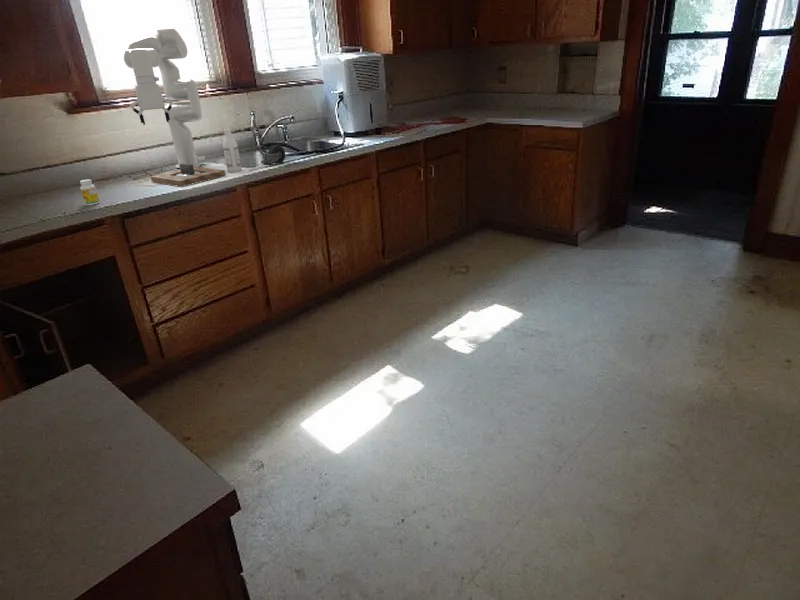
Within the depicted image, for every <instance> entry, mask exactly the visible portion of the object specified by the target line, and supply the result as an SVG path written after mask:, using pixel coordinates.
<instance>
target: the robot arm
mask: <svg viewBox="0 0 800 600" xmlns="http://www.w3.org/2000/svg"><path fill="white" fill-rule="evenodd" d="M187 56H188V47H187V45H186V42H185V41H184V39H183V37H182V36H181V35H180V33H179V32H178V31H177V29H175V28H173V27H171V26H170V27H169V26H168V27H153V28H150V29H148V30H147V31H146V32H145V34H144V36H143V38H141V39H138V40H136V41H133V42H132V43H129V44H128V45H127V46H126V47H125V49H124V51H123V61H124V64H125V65H126V66H127V67H128V68H130V69H132V70H133V73H134V77H135V81H136V85H135V86H134V87H135V93H136V94H135V95H136V100H134V101H133V102H132V103H130V104H129V107H130V109H131V110H132V112H135V113H136V115H138V116H139V119H140V123H141V124H142V125H143V126H145V125H146V121H145V117H144V115H143V112H144V110H145V111H149V110H160V109H162V110H163V112H164V115H165V120H166V122H167V123H168V127H169V130H170V134H171V138H172V142H173V146H174V151H175V154H176V160H177V163H178V164H176V165H175V168H176V169H177V168H180V165H179V164H182V163H185V164H193V167H195V166H196V167H197V166H198V167H201V166H200V165H202V163H201V161H205V160H206V157H205V156H204V155H203V156H198V155H196V150H195V144H194V140H193V137H192V131H191V129H190V128H189V127H188V126H187V124H185V123H192V122H193V123H195V122H199V121H201V120H202V118H203V117H202V116H203V115H202V114H203V113H202V107H201V100H200V94H199V88H198V85H197V84H196V82H195V80H193V79H191V78H185V79H184V78H182V79H181V76H180V69H179V67H177V66H176V64H175V63H174V62H172V61H171V60H179V59H185V58H186V57H187ZM157 67H158V68H159V71H160V74H161V75H160V76H161V80H162V87H163V91H164V96H165V97H166V98H165V97H163V94H162V90H161V88H160V84H159V83H157V81H160V77H159V76H155V74H154V68H157ZM182 100H183V101H185V102H182ZM186 100H189V101H186ZM174 101H181V102H174ZM165 103H168V104H166V105H165ZM137 104H138V107H139V110H138V109H137V108H136V107H135V106H136V105H137Z"/></svg>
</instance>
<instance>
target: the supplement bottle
mask: <svg viewBox="0 0 800 600" xmlns="http://www.w3.org/2000/svg"><path fill="white" fill-rule="evenodd" d="M92 181H93V180H92V179H81V180H80V181H79V183H80V185H81V186H80V187H79V188H80V192H81V196H82V199H83V202H84V205H85V206H95V205H94V204H96V205H98V204H97V203H99V204H100V203H101V202H100V201H101V200H100V198H99V194H98V192H97V188H96V186H95V184H92V183H93V182H92Z"/></svg>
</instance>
